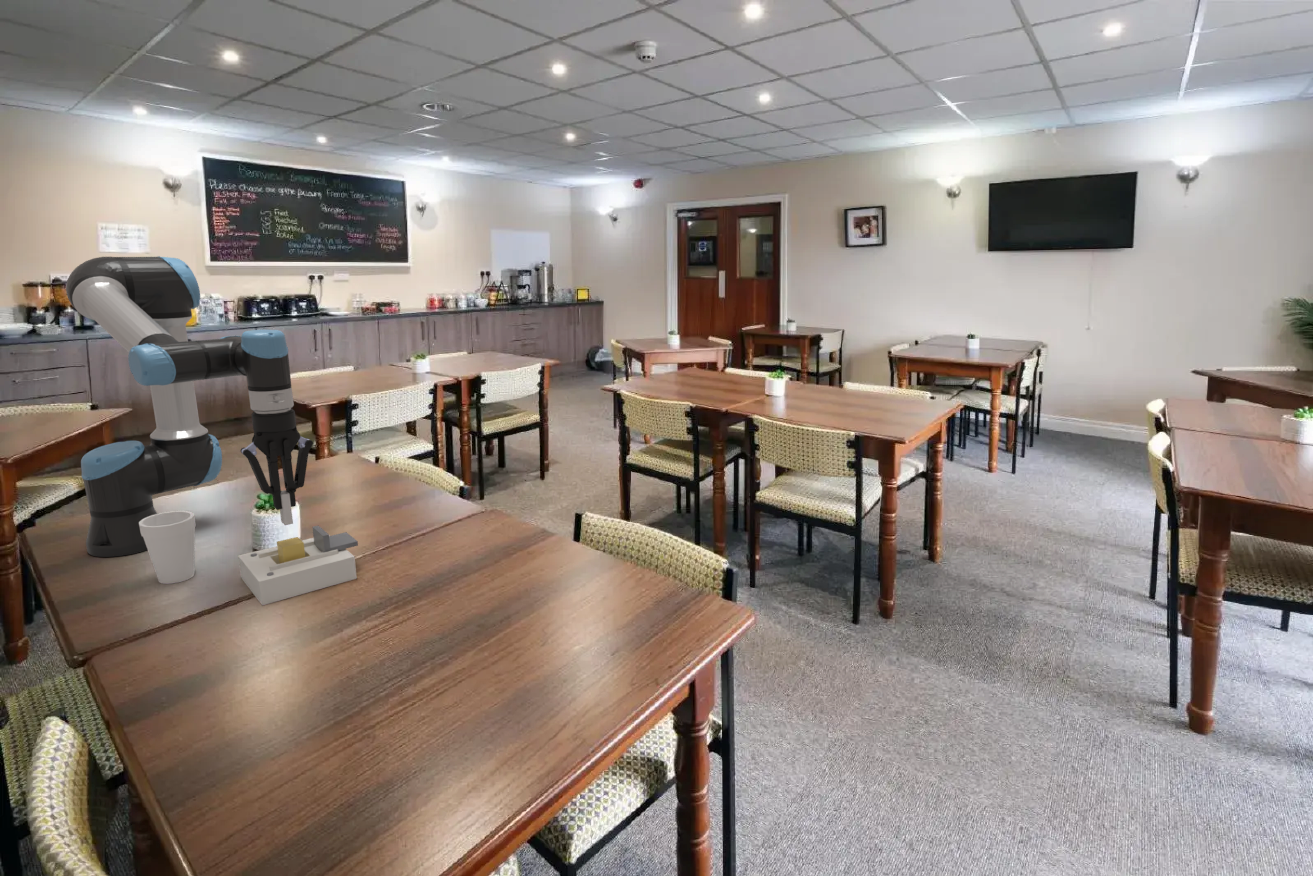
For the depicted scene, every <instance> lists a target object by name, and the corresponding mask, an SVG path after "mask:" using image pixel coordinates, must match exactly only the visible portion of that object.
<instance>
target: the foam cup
mask: <svg viewBox="0 0 1313 876" xmlns="http://www.w3.org/2000/svg"><path fill="white" fill-rule="evenodd" d="M195 518H196V517H195V515H194V512H192V511H189V510H188V511H187V510H173V511H172V510H171V511H163V512H160V513H157V514H155V515H151V516H149V517H146V518H144V519H142V520H141V521H140V522H139V527H140V532H141V536H142V537H143V538H144V541H145V544H146V547H147V549H148V550H147V551H148V552H147V553H148V555H149V558H150V561H151V564H152V566H153V569H154V572H155V574H156V579H157V581H158V583H161V584H162V585H166V584H168V585H171V584H177V583H181V582H184V581H187V580H189V579H191V578H192V577H194V576H195V567H196V566H195V558H196V557H195V552H196V551H195V549H196V548H195V547H196V546H195V544H196V543H195V542H196V541H195V540H196V535H195V533H196V532H195V531H196V529H195V527H197V525H196V519H195Z"/></svg>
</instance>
